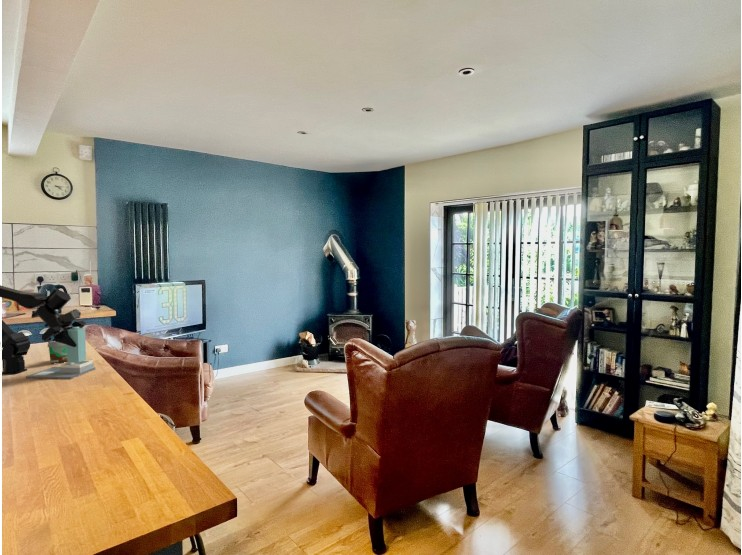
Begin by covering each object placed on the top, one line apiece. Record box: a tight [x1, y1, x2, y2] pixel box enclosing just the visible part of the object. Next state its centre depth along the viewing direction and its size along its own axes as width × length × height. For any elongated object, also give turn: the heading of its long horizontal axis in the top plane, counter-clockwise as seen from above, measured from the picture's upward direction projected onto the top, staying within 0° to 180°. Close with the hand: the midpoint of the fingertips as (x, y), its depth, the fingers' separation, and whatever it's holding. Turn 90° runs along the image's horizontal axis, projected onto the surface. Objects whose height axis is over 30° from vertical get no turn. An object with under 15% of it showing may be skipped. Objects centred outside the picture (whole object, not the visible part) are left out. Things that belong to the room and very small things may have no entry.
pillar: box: [67, 327, 87, 363], centre depth 178 cm, size 4×4×14 cm
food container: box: [47, 341, 68, 365], centre depth 196 cm, size 12×6×10 cm, turn 179°
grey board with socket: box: [25, 359, 96, 380], centre depth 176 cm, size 18×14×4 cm
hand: (79, 345), depth 178 cm, fingers closed on pillar, 4 cm apart
